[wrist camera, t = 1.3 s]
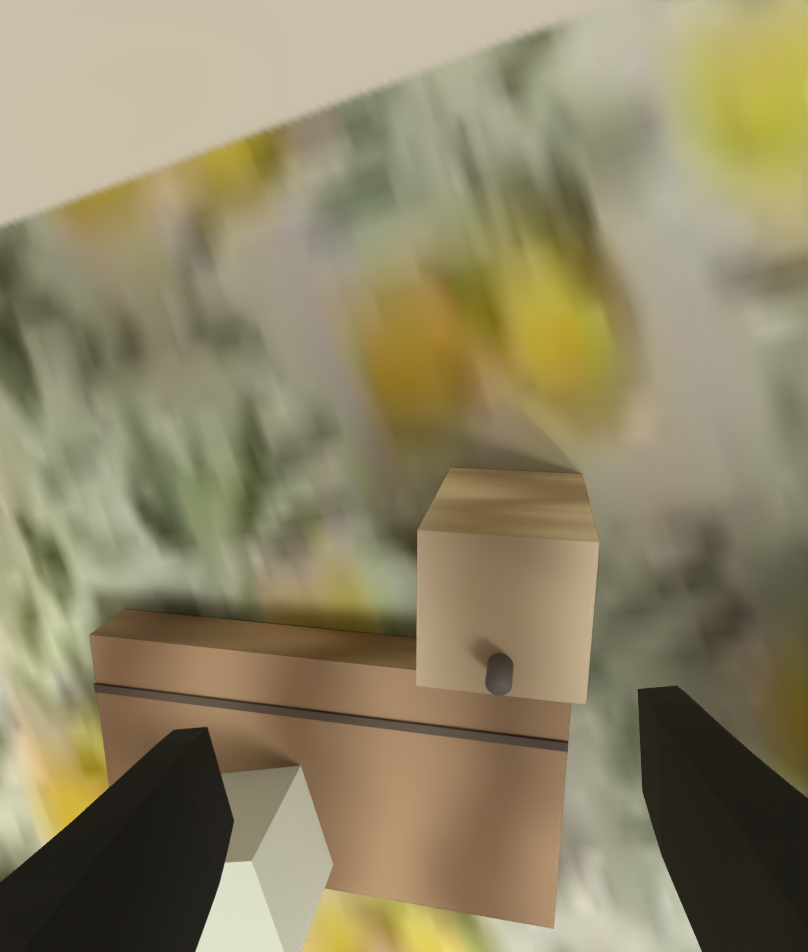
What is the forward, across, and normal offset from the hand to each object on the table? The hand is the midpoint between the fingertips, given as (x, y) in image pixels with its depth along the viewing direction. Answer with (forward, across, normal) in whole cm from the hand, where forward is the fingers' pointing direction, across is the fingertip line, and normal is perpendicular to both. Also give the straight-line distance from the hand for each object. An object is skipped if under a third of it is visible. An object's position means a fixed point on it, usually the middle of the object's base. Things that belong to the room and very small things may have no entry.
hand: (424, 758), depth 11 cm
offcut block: (+9, +7, +10) cm, 15 cm away
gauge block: (+10, -2, +1) cm, 11 cm away
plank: (+11, +5, +8) cm, 14 cm away
